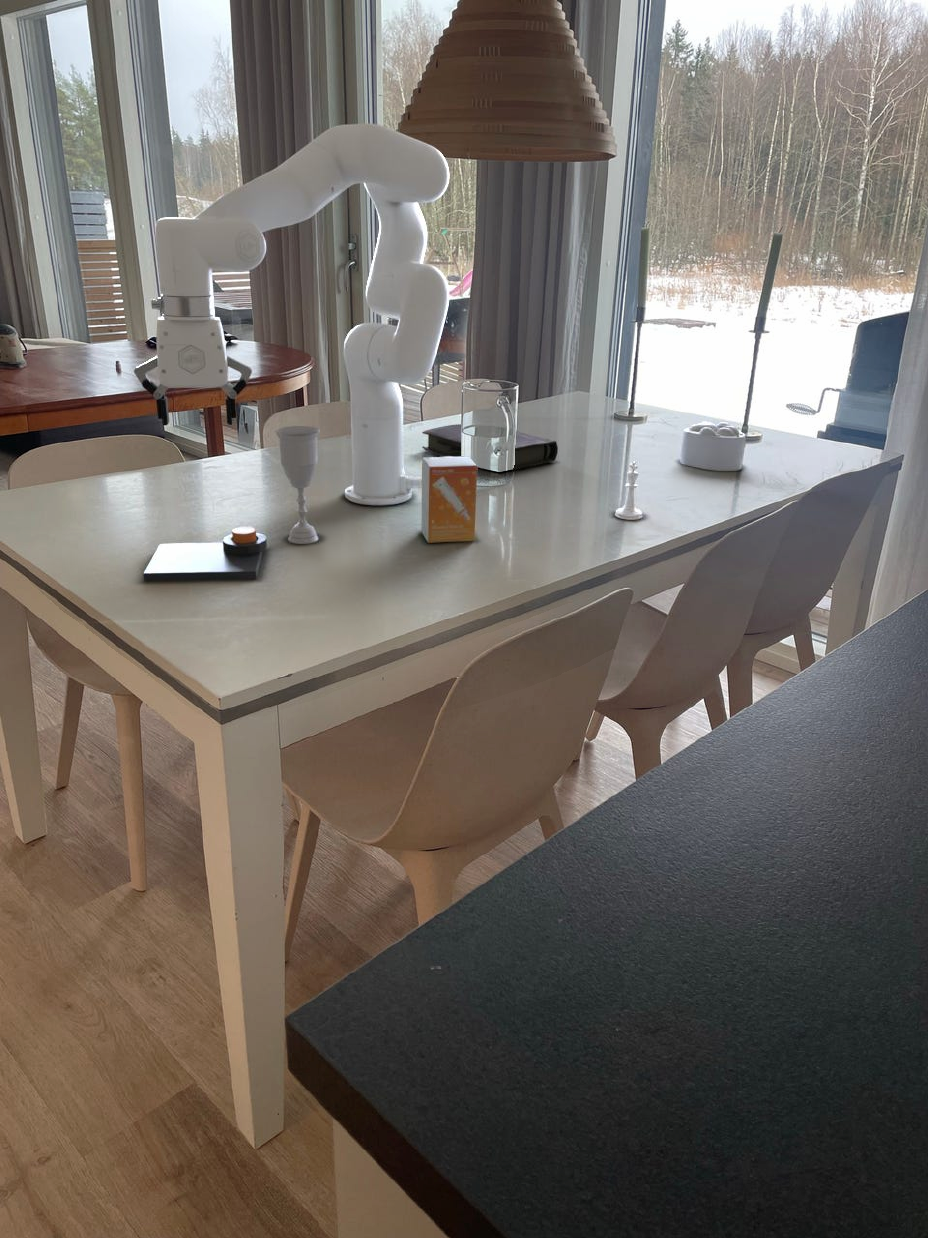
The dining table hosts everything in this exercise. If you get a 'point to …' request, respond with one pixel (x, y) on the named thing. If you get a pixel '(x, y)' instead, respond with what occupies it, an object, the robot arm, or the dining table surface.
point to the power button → (244, 535)
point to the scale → (206, 561)
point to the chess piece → (630, 498)
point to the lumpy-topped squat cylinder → (713, 447)
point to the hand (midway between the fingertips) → (198, 423)
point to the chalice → (299, 472)
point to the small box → (449, 499)
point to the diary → (526, 447)
